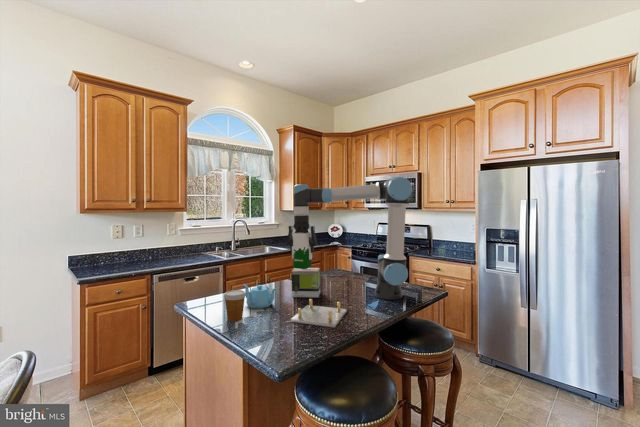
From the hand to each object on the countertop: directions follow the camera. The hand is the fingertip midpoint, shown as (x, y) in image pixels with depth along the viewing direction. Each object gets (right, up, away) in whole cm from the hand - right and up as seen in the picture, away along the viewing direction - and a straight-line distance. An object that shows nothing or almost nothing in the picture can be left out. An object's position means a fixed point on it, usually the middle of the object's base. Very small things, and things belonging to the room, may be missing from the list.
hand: (302, 258), depth 163 cm
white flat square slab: (+9, -24, -18) cm, 31 cm away
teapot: (-22, -24, -3) cm, 32 cm away
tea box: (+1, -23, +15) cm, 27 cm away
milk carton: (0, -5, 0) cm, 5 cm away
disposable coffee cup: (-29, -24, -21) cm, 43 cm away
